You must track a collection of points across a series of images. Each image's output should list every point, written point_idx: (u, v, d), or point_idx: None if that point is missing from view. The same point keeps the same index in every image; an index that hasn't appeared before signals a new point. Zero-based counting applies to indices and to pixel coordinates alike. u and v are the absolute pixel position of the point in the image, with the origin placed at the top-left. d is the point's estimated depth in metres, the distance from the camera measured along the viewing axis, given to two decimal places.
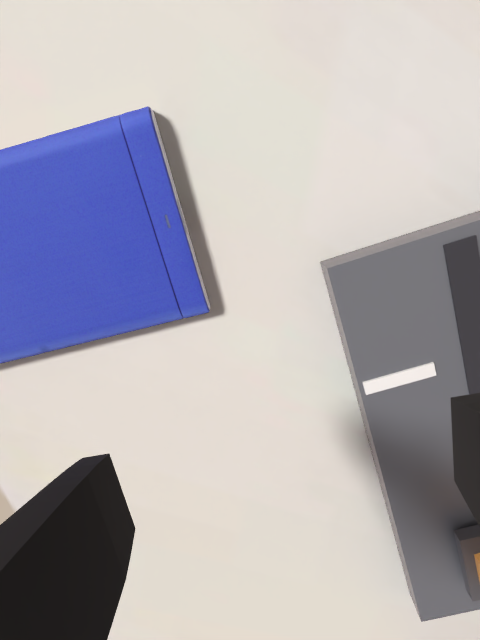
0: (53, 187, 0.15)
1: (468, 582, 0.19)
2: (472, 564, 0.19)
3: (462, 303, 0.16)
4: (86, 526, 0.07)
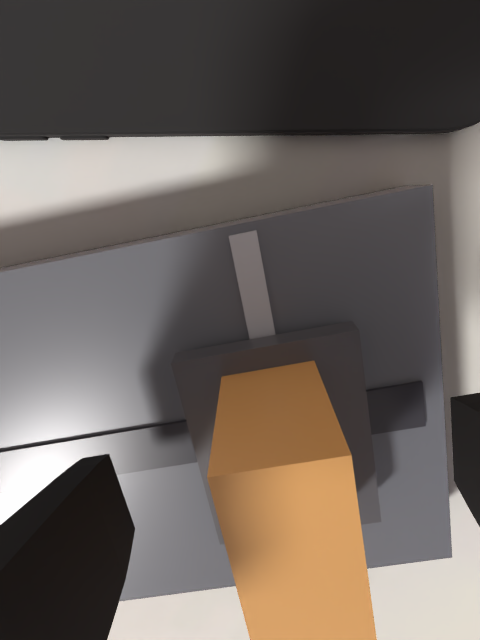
0: None
1: None
2: None
3: None
4: (86, 526, 0.07)
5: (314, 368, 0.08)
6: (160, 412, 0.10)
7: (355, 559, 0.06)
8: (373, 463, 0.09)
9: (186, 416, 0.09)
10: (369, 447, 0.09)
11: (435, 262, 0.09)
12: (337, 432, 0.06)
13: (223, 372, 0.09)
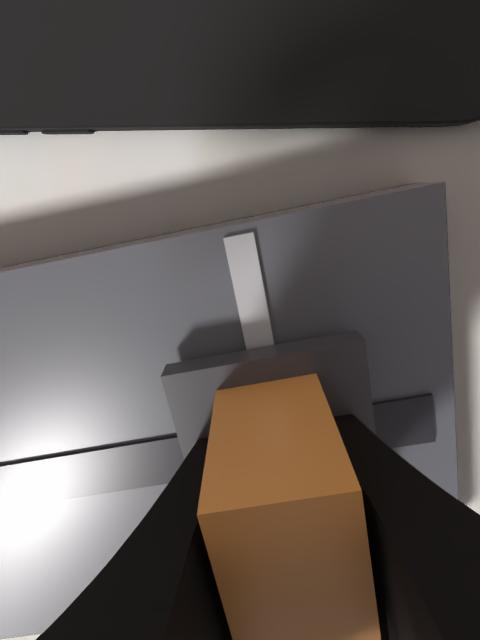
0: None
1: None
2: None
3: None
4: None
5: (316, 382, 0.07)
6: (150, 427, 0.09)
7: (365, 604, 0.05)
8: None
9: (178, 433, 0.08)
10: None
11: (447, 266, 0.08)
12: (344, 461, 0.05)
13: (217, 386, 0.08)
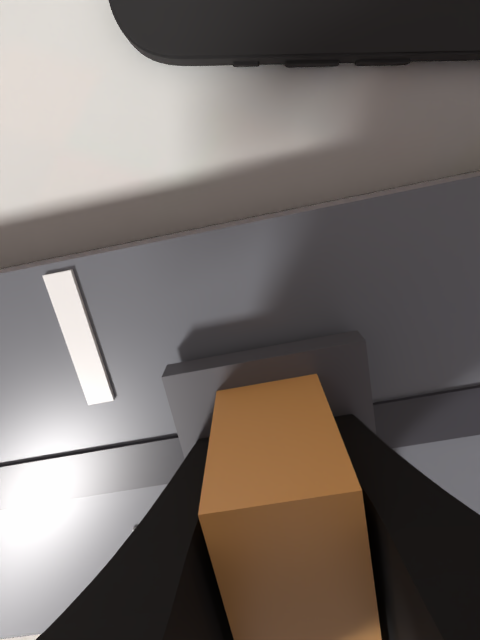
0: None
1: None
2: None
3: (32, 489, 0.10)
4: None
5: (317, 383, 0.07)
6: (449, 377, 0.09)
7: (365, 603, 0.05)
8: None
9: (178, 433, 0.08)
10: None
11: None
12: (344, 461, 0.05)
13: (218, 386, 0.08)
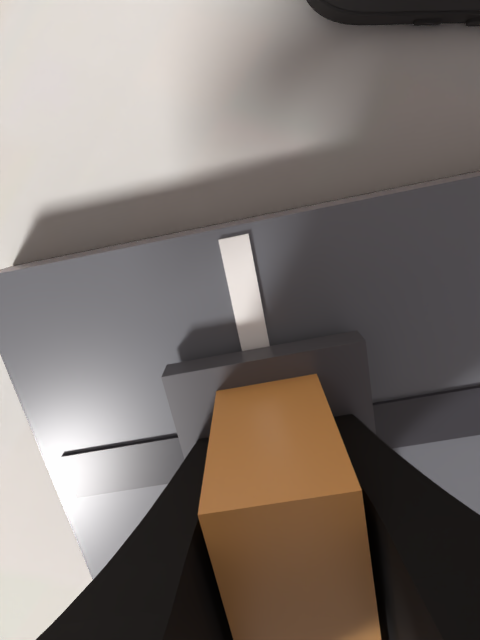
0: None
1: None
2: None
3: (175, 466, 0.10)
4: None
5: (317, 383, 0.07)
6: None
7: (365, 603, 0.05)
8: None
9: (178, 433, 0.08)
10: None
11: None
12: (344, 461, 0.05)
13: (218, 386, 0.08)
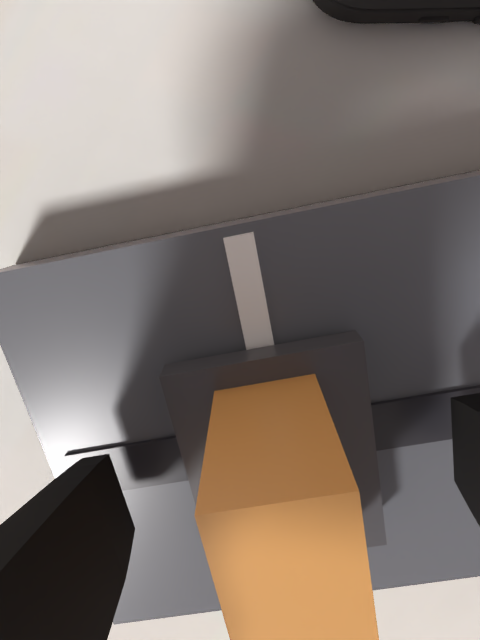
0: None
1: None
2: None
3: (179, 466, 0.10)
4: (86, 526, 0.07)
5: (315, 383, 0.07)
6: None
7: (362, 604, 0.05)
8: (378, 483, 0.09)
9: (176, 433, 0.08)
10: (375, 466, 0.08)
11: None
12: (342, 461, 0.05)
13: (216, 386, 0.08)
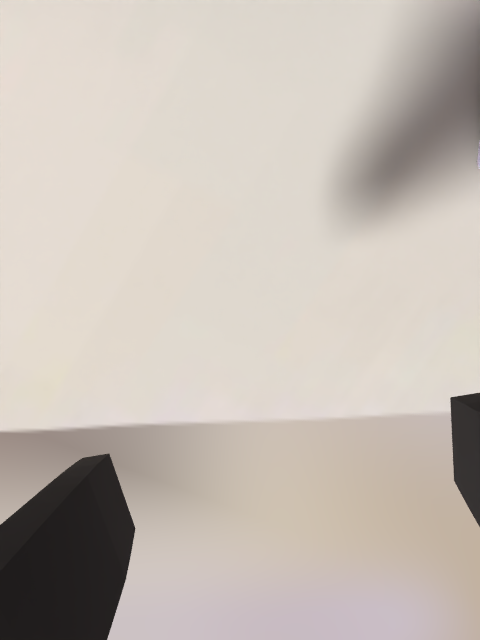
0: None
1: None
2: None
3: None
4: (86, 526, 0.07)
5: None
6: None
7: None
8: None
9: None
10: None
11: None
12: None
13: None
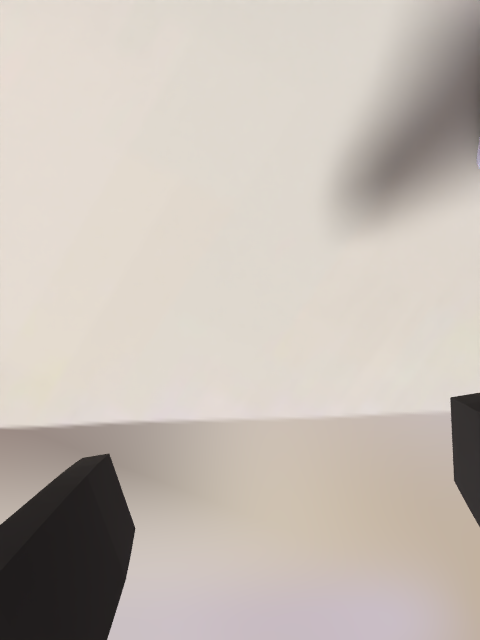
0: None
1: None
2: None
3: None
4: (86, 526, 0.07)
5: None
6: None
7: None
8: None
9: None
10: None
11: None
12: None
13: None
